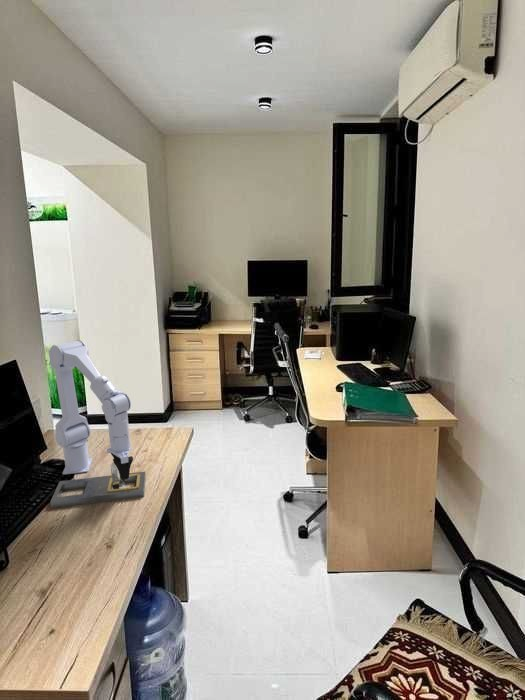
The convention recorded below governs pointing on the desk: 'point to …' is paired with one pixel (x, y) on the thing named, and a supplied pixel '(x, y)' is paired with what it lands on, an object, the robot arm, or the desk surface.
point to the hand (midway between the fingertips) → (123, 475)
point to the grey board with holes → (97, 490)
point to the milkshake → (116, 477)
